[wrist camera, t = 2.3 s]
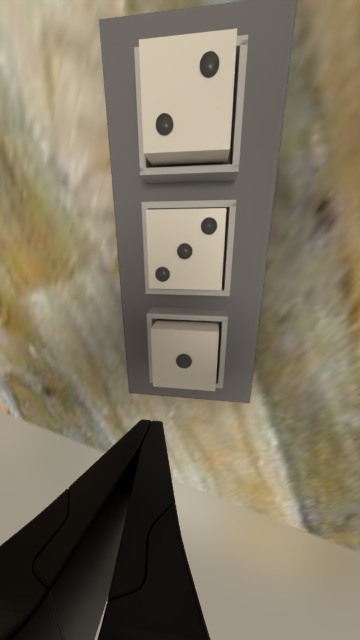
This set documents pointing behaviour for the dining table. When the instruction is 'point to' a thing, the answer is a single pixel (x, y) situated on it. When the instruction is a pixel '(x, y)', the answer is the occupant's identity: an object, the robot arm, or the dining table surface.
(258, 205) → the button panel
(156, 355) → the tile one dot
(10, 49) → the dining table surface
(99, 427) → the dining table surface
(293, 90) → the dining table surface
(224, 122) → the tile two dots
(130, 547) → the robot arm
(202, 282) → the tile three dots
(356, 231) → the dining table surface
